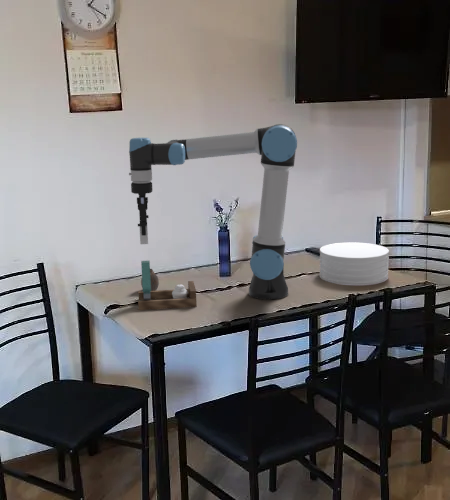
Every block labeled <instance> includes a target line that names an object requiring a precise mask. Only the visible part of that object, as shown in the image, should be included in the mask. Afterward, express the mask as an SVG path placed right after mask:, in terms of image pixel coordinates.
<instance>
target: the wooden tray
mask: <svg viewBox="0 0 450 500" xmlns="http://www.w3.org/2000/svg"><path fill="white" fill-rule="evenodd" d="M187 285H188V287H187V288H185V289H186V290H187V291H188V295H187V298H182V299H174V298H173V295H172V292H173V290H174V289H165V290H164V289H162V290H161V289H159V290H156V291H150V295H151V300H146V301H144V293H143V290H142V291H137V292H138V301H137V302H138V311H146V310H147V311H149V310H163V309H165V310H166V309H180V308H181V309H183V308H196V307H197V301H198V300H197V290H196V286H195V281H194V280H190V281H187Z"/></svg>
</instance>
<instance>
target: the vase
mask: <svg viewBox="0 0 450 500" xmlns="http://www.w3.org/2000/svg"><path fill="white" fill-rule="evenodd" d="M150 281H151V291H158V290H157V289H158V288H159V284H160V282H159V277H158V275H157V273H155V271H154V270H153V268H150ZM140 283H141V284H140V285H141V287H142V288H141V289H143V286H142V278H141V279H140Z"/></svg>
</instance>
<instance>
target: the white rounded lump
mask: <svg viewBox="0 0 450 500" xmlns="http://www.w3.org/2000/svg"><path fill="white" fill-rule="evenodd" d="M186 289H187V288H186V287H185V285H184V284H176V285H175V287H174V289H172V290H173V292H172V295H173V298H172V299H182V298H187V295H188V291H187V290H186Z"/></svg>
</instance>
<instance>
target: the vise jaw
mask: <svg viewBox="0 0 450 500" xmlns="http://www.w3.org/2000/svg"><path fill="white" fill-rule="evenodd" d="M140 261H141V264H140V265H141V279H142V285H141V287H142V286H143V288H142V291H143V293H144V300H143V301H146V300H151V295H150V291H151V281H150V269H151V265H150V263H151V262H150V260H140Z"/></svg>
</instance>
